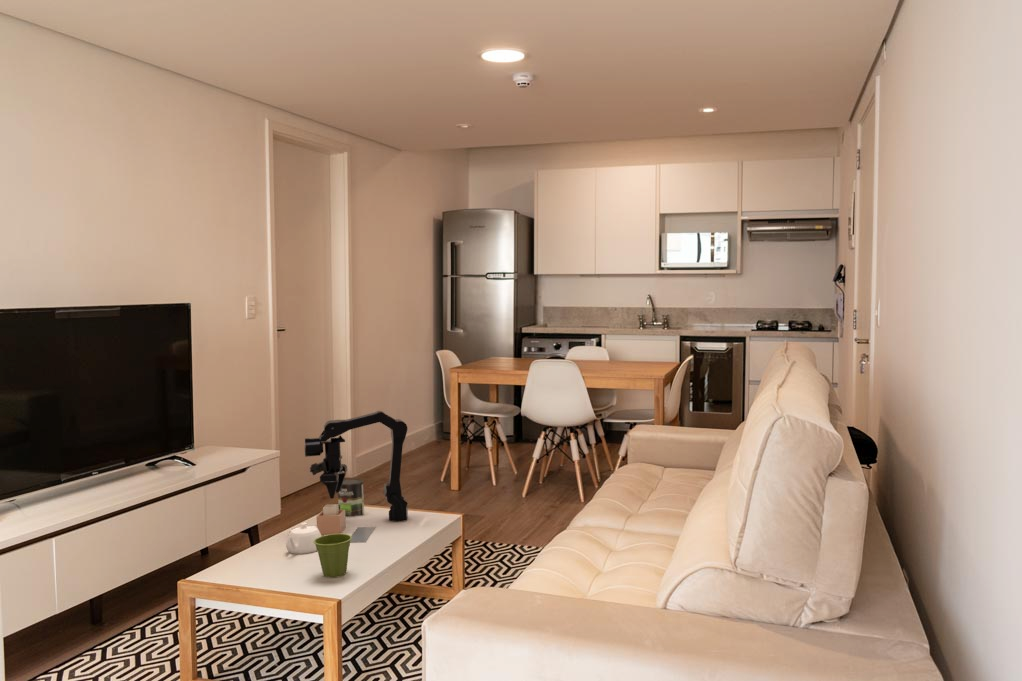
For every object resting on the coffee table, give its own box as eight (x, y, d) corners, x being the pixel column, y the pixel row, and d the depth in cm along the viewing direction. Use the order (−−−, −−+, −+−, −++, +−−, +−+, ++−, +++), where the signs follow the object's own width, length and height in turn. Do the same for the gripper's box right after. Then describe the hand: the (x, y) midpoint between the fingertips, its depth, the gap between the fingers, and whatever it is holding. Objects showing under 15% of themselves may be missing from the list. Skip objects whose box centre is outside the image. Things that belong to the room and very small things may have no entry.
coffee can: (356, 520, 314) (355, 484, 313) (333, 519, 317) (332, 483, 317) (369, 513, 324) (367, 479, 323) (346, 512, 327) (345, 478, 326)
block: (338, 517, 297) (338, 504, 297) (335, 520, 293) (335, 507, 293) (326, 517, 298) (326, 504, 297) (323, 521, 293) (323, 507, 293)
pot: (346, 530, 300) (345, 509, 299) (340, 537, 291) (339, 515, 291) (323, 531, 300) (322, 510, 300) (317, 538, 291) (316, 516, 291)
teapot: (307, 562, 264) (306, 532, 263) (273, 561, 266) (272, 531, 266) (333, 544, 283) (332, 516, 283) (301, 543, 286) (300, 515, 285)
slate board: (376, 529, 299) (376, 526, 299) (365, 545, 280) (365, 542, 280) (357, 530, 300) (357, 527, 300) (345, 546, 280) (345, 542, 280)
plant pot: (337, 565, 260) (335, 531, 259) (361, 572, 252) (359, 537, 252) (307, 575, 251) (305, 540, 250) (331, 583, 243) (329, 546, 242)
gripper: (318, 450, 310) (319, 490, 311) (304, 460, 292) (307, 502, 293) (346, 449, 310) (348, 489, 311) (335, 459, 292) (337, 501, 292)
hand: (334, 495), depth 302 cm, fingers open, 9 cm apart
